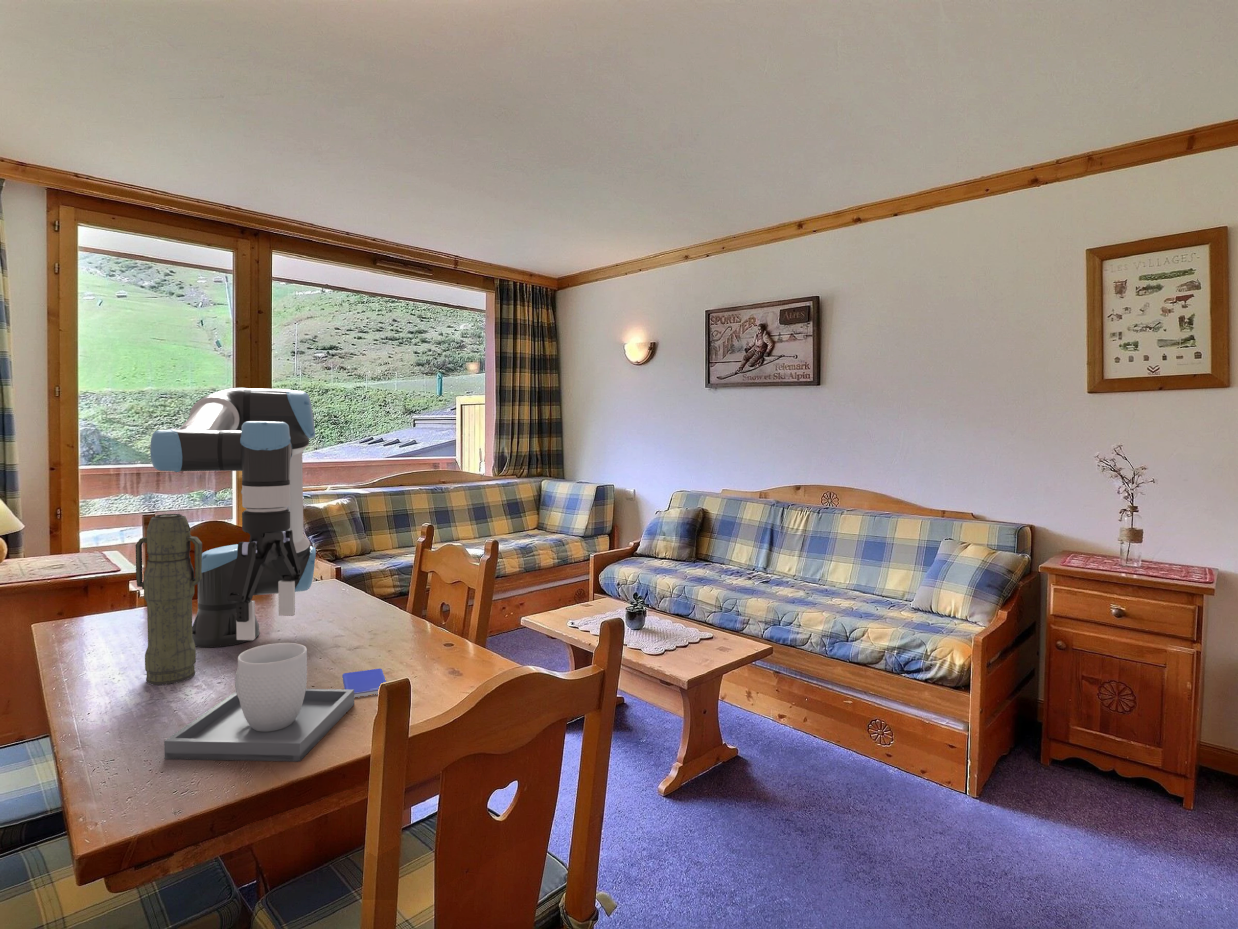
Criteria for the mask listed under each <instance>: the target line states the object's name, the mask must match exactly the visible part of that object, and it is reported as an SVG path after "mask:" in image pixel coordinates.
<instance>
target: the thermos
mask: <svg viewBox="0 0 1238 929" xmlns="http://www.w3.org/2000/svg"><path fill="white" fill-rule="evenodd" d="M143 543H144V544H146V553H147V556H148V559H147V561H146V564H147V565H146V569H145V570H144V573H143ZM191 543H193V545H194V567H193V564H192V562H191V560H192V559H191V558H192V557H191V556H190V551H191ZM134 546H135V547H134V548H135V577H136V578H135V579H136V580H135V581H136V587H137V588H141V589H142V590H143V597H144V598H143V599H144V600H145V602H146V605H147V607H146V608H147V609H146V614H147V615H146V616H147V648H146V651H145V654H144V670H145V671H146V672H145V673H146V678H145V681H147V682H146V683H147V684H148V683H149V684H148V685H151V684H153V685H154V686H166V685H165V684H167V685H172V684H171V683H173V684H177V683H176V682H178V683H180V682H185V681H186V680H189V679H191V678H192V677H194V676H195V674H196V667H195V665H196V662H197V658H196V657H197V656H196V655H197V654H196V652H197V651H196V649H197V648H196V646H195V643H194V640H193V638H192V626H193V597H194V595H195V586H197V585H198V583H199V582H200V581H201V580H202V571H201V569H202V553H203V542H202V541H201V540H200V538H199V537H198V536H192V535H191V527H190V524H189V521H188V519H187V517H186V516H185V515H183V514H182V513H163V514H157V515H155V516H153V517H151V518H150V520H149V523H148V525H147V529H146V536H143V537H141V538H139V539H138V541H137V542H136V543H135V545H134ZM184 680H185V681H184ZM162 684H163V685H162ZM153 685H152V686H153Z"/></svg>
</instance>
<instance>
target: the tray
mask: <svg viewBox="0 0 1238 929" xmlns="http://www.w3.org/2000/svg"><path fill="white" fill-rule="evenodd" d="M354 705H355V698H354V690H349V689H340V688H339V689H338V688H335V689H334V688H306V692H305V696H304V700H303V704H302V707H301V709H300V712H299V713H298V715H297V717H296V719H295V720H294V722H293V723H292V724H291V725H289V726H287V727H285V728H283V729H280V730H276V731H271V732H260V731H256V730H254V729H253V728H252V727H251V726H250V725H249V724H248V722H247V721H246V719H245V716H244V714H243V711H242V709H241V705H240V701H239V698H238V696H237V694H236V691H235V692H233V693H232V694H230V695H229V696H227V697H226V698H225V699H223V700H221V701H220V702H219V703H218V704H216V705H214V706H213V707H212V708H210V709H208V710H207V711H205V713H203V714H201V715H200V716H198V717H197V718H195V719H194V720H192V721H191V722H190V723H188V724H187V725H185V726H183V728H181V729H180V730H178V731H177V732H175V733H174V734H172V735H171V736H170V737H168V738H166V739H165V740H164V741H163V742H164V744H163V745H164V746H163V748H164V753H163V754H164V760H195V761H196V760H197V761H199V760H201V761H204V760H205V761H251V762H252V761H254V762H255V761H257V762H258V761H259V762H262V761H264V762H301V761H302V760H303V759H304V758H305V757H306V756H307V755H308V753H309V752H310V751H312V750H313V748H314V747H315V746H317V744H319V742H320V741H321V740H322V739H324V737H325V736H326V735H327V734H328V733H329V731H331V730H332V729H333V727H334V726H335V725H336V724H337V723H338V722H340V720H341V719H342V718H343V717H344V715H346V714H347V713H348V712H349V710H351V708H353V707H354ZM346 712H347V713H346Z"/></svg>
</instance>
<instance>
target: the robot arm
mask: <svg viewBox="0 0 1238 929" xmlns="http://www.w3.org/2000/svg"><path fill="white" fill-rule="evenodd" d="M315 427H316V426H315V419H314V413H313V406H312V401H311V398H310V395H309V394H308V392H306V391H303V390H295V389H294V390H293V389H289V388H248V387H235V388H233V387H232V388H227V389H223V390H219V391H215V392H212V393H210V394H207V395H204V396H203V397H202V398H200V399H198V400H197V401H196V402H195V403H194V404H193V405H192V407H191V408H190V411H189V417H188V419H187V420H186V421H185V422H184V423H183V424H182V425H181V426H180V427H179V429H175V428H169V429H158V430H157V429H156V430H155V431H154V432H153V433H152V435H151V438H150V445H149V446H150V450H149V451H150V454H149V455H150V461H151V465H152V467H153V468H154V469H155V470H156V471H160V472H175V473H180V472H241V479H242V480H241V487H242V488H241V491H240V494H241V499H242V500H241V501H242V502H241V503H242V504H241V505H242V506H241V507H242V508H244V509H245V510H242V513H241V530H242V532H244V533H248V534H249V536H250V537H249V540H248V541H239V542H238V544H237V543H236V544H230V545H229V544H228V545H223V546H219V547H215V548H211V549H209V550H208V549H207V550H206V551H204V552H203V551H202V569H201V571H202V580H201V581H200V582H199V583H198V584H197V613H196V616H195V618H194V621H193V622H192V638H193V640H194V643H195V647H200V648H218V647H227V646H235V645H239V644H243V643H246V642H249V641H254V640H256V638H257V637H258V636H259V635H260V624H259V621H258V619H257V616H256V600H252V599H253V596H262V595H264V596H265V595H274V594H275V595H276V594H278V596H277V597H278V616H281V617H282V616H283V617H293V616H295V615H296V593H299V592H305V591H308V590H309V589H310V588H311V587H312V584H313V578H314V572H315V562H316V557H317V556H316V555H317V549H316V547H315V546H312V545H311V542H310V540H309V538H307V537H306V536H304V493H303V492H304V486H303V485H304V484H303V483H304V480H303V479H304V478H303V477H304V476H303V473H304V472H303V469H304V468H303V465H304V464H303V451H304V450H305V449H306V448H307V447H308V446H309V445H310V440H311V439H314V438H315V437H316V428H315Z"/></svg>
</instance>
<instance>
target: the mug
mask: <svg viewBox="0 0 1238 929" xmlns="http://www.w3.org/2000/svg"><path fill="white" fill-rule="evenodd" d="M307 677H308V649H307V646H305V645H303V644H300V643H295V642H276V643H275V642H274V643H268V644H263V645H258V646H255V647H252V648H249V649H247V650H244V651H242V652H241V653H240V654H239V655H238V656H237V669H236V673H235V677H234V678H235V679H234V688H235V692H236V694H237V696H238V698H239V701H240V705H241V709H242V711H243V714H244V716H245V719H246V721H247V722H248V724H249V725H250V726H251V727H252V728H253V729H254V730H256V731H260V732H271V731H276V730H280V729H283V728H285V727H287V726H289V725H291V724H292V723H293V722H294V720H295V719H296V717H297V715H298V713H299V712H300V709H301V707H302V704H303V700H304V696H305V692H306V689H307V680H308V678H307Z"/></svg>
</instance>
